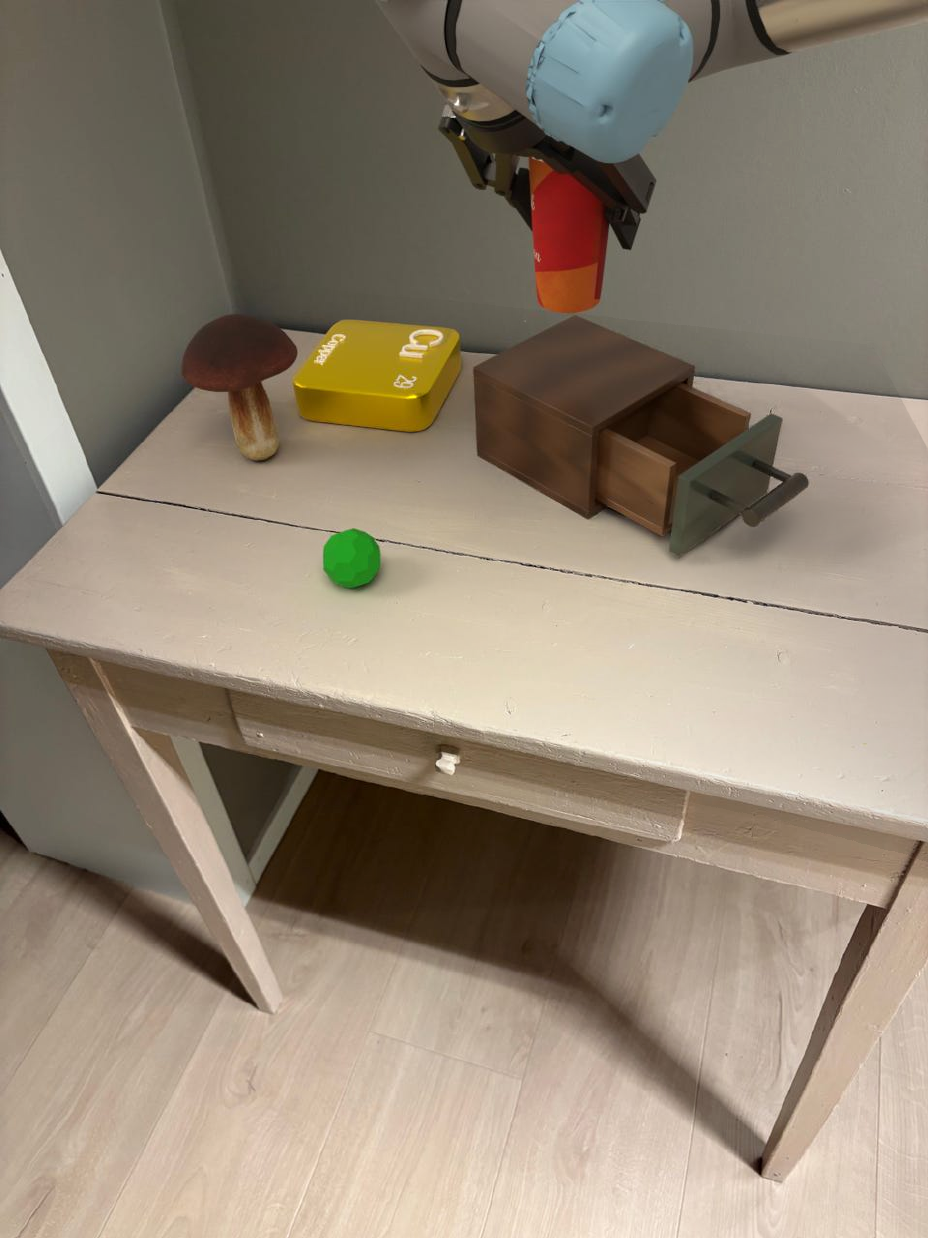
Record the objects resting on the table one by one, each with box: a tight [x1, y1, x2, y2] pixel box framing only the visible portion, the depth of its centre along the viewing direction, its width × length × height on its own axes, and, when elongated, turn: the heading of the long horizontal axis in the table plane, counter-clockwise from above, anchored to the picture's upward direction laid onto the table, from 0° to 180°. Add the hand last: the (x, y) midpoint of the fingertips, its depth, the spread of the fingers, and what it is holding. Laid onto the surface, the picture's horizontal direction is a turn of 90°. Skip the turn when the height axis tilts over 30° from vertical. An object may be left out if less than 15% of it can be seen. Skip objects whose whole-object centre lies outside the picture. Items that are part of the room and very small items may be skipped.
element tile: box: [292, 319, 462, 433], centre depth 103 cm, size 15×15×5 cm
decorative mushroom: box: [180, 313, 299, 462], centre depth 92 cm, size 11×11×15 cm
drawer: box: [595, 382, 810, 558], centre depth 84 cm, size 19×13×8 cm
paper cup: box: [527, 157, 610, 314], centre depth 80 cm, size 8×8×14 cm
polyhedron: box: [322, 527, 381, 589], centre depth 81 cm, size 5×5×5 cm
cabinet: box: [472, 314, 696, 520], centre depth 91 cm, size 15×14×10 cm
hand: (586, 226), depth 83 cm, fingers closed on paper cup, 8 cm apart
